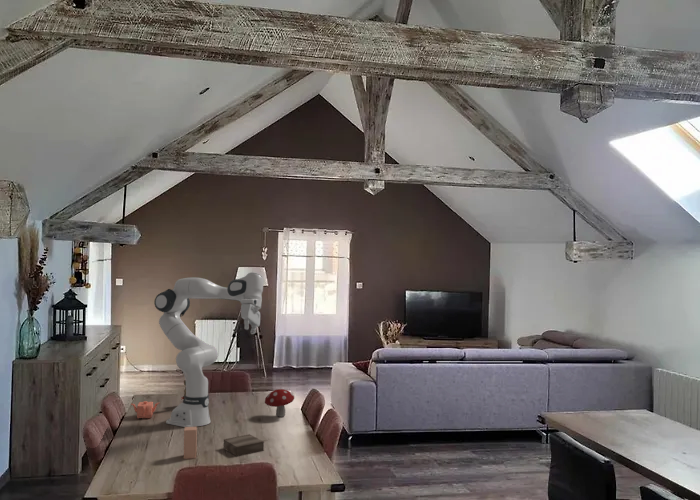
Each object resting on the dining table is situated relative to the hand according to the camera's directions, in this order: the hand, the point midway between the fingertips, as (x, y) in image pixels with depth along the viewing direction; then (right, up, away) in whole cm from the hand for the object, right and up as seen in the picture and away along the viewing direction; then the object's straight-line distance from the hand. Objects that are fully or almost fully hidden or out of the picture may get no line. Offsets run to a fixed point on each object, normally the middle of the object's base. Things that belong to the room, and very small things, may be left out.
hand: (249, 331), depth 295 cm
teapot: (-59, -48, +21) cm, 79 cm away
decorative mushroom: (+12, -49, +25) cm, 57 cm away
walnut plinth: (+2, -49, -28) cm, 56 cm away
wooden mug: (-41, -49, +42) cm, 76 cm away
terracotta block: (-19, -48, -39) cm, 65 cm away
